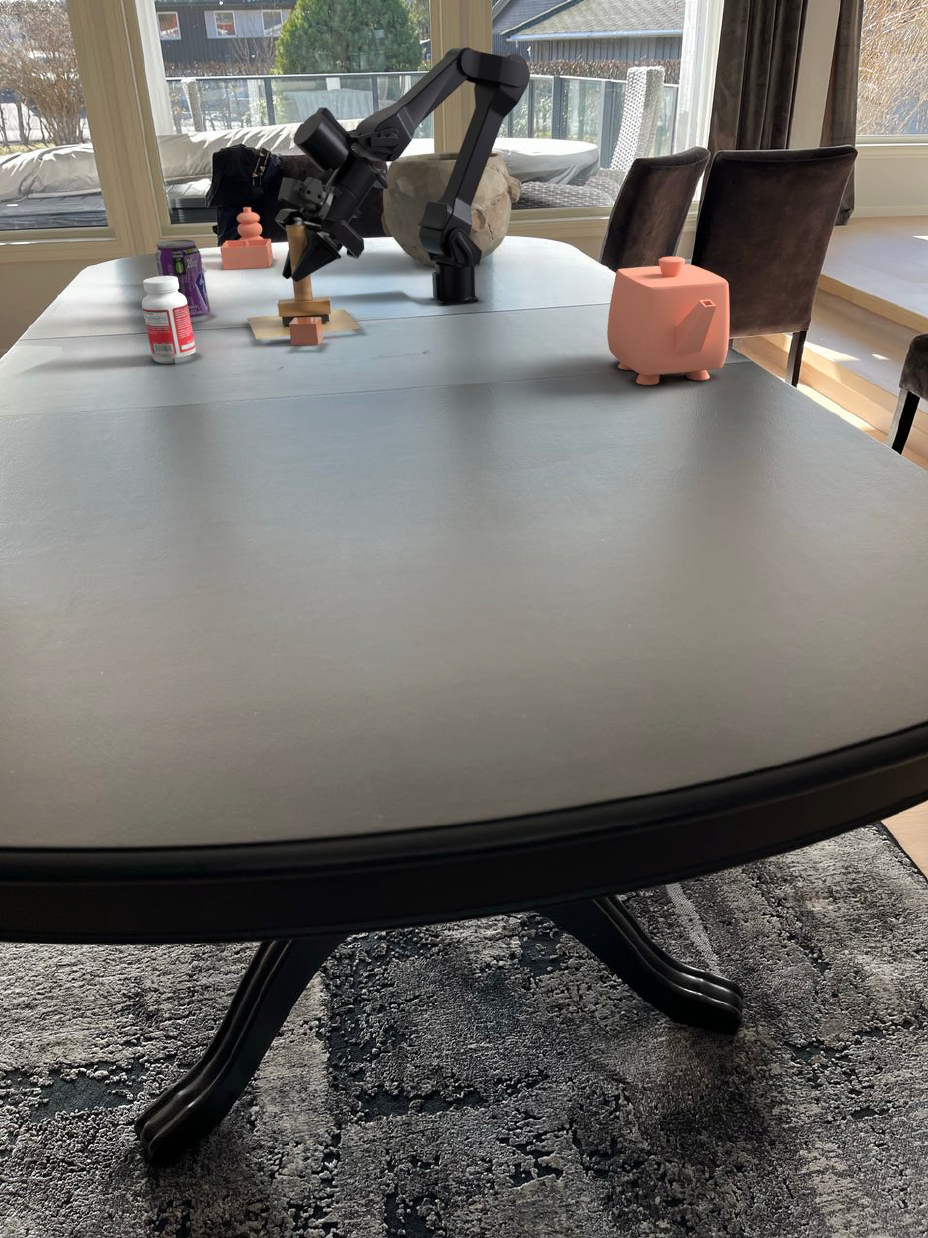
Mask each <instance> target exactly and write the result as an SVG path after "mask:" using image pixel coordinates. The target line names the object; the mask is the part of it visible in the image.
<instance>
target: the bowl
mask: <svg viewBox="0 0 928 1238" xmlns="http://www.w3.org/2000/svg"><path fill="white" fill-rule="evenodd" d="M459 152H460V151H452V152H451V151H450V152H449V151H447V152H431V153H420V154H412V155H411V154H410V155H406V156H400V157H399V158H398V159H396V160H395V161H392V162H390V164H389V167H388V168H387V170H386V178H387V181H388V188H387V189H383V190H382V203H383V204H382V205H383V212H382V214H381V218H380V219H381V224H382V229H383V232H384V234H385V235H386V236H387V237H392V238H393V239H394V241H395V242H396V243H397V244H398V245H399V247H400V248H401V249H402V251H403V252H404V253H405V254H407V255H408V256H409V257H410V258H411V259H412V260H413V261H416V262H419V263H420V264H423V265H424V266H428V267H433V268H435V261H430V259H429V256H428V254H427V251H426V250H425V249H424V247H423V246H422V244H421V240H420V238H419V232H420V228H421V226H420V225H418V223H419V222H420V221H421V219H422V217H423V215H424V211H425V206H426V204H427V202H428V201H432V202H438V200H439V199H440V198H441V197H442V196H443V194H444V192H445V190H446V187H447V184H448V182H449V179H450V176H451V173H452V171H453V168H454V165H455V162H456V160H457V157H458V154H459ZM521 192H522V182H521V181H520V179H517V178H516V177H513V176H512V175H509V171H508V168H507V165H506V163H505V160H504V158H503V156H502V155H501V154H500V153H497V152H491V154H490V156H489V159H488V162H487V165H486V167H485V170H484V173H483V175H482V178H481V181H480V183H479V186H478V189H477V191H476V194H475V197H474V199H473V202H472V205H471V214H472V229H471V234H470V238H471V239H472V241H473V242H474V243H475V244H476V245H477V246H478V247H479V248H480V249H481V250H482V256H481V260H483V259H484V258H487V257H488V256H490V255H491V254H493V253H494V252H495V251H496V249H497V248H499V246H500V245H501V244H502V243H503V241H504V240H505V237H506V235H507V231H508V228H509V223H510V221H511V220H510V219H511V215H512V204H516V203H517V202H518V201H519V199H520V196H521Z"/></svg>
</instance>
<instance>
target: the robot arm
mask: <svg viewBox="0 0 928 1238" xmlns="http://www.w3.org/2000/svg"><path fill="white" fill-rule="evenodd" d="M530 79H531V72H530V70H529V64H528V62H527V61H526V59H525V58H524V57H523V56H522V55H521V54H519V53H501V54H493V53H488V52H483V51H479V50H476V49H473V48H471V47H467V46H466V47H452V48H450V49H449V50H448V51H446V53H445V55H444V56H443V58H441V59H440V60H439V61H438V62H437V63H436V64H435V65H433V67H432V68H431V69H429V71H428V72H426V73H425V74H424V76H422V78H420V79H419V80H418V81H417V82H416V83H415V84H414V85H413V86H411V88H409V90H407V91H406V92H405V93H404V94H403V95H402V96H401V97H400V98H399V99H398V100H397V101H396V102H394V103H392V104H390V105H388V106H386V107H384V108H382V109H379V110H377V111H375V112H374V113H372V114H370V115H368V116H367V117H365V118H364V119H363V120H361V121H360V122H359V123H358V124H357V126H356V128H354V129H351V130H347V129H345V128H344V126H343V125H342V124H341V123H340V122H339V121H338V120H337V119H336V117H335V116H334V114H333V113H332V111H330V109H329V108H328V107H318V108H317V110H316V112H315V113H313V114H312V115H310V116H309V117H308V118H307V119H305V120H304V122H303V123H300V124H299V126H298V127H297V129H296V131H295V133H294V135H293V144H294V145H295V146H296V147H297V148H298V149H299V150H300V151H301V152H302V153H303V154H304V155H305V156H306V157H307V158H308V159H309V160H310V161H311V162H312V163H313V164H314V165H315V166H316V167H317V168H318V169H319V170H320V171H321V172H327V171H331V172H333V174H332V175H331V177H330V178H329V180H328V181H327V183H326V184H323V182H322V180H319V179H317V178H315V177H310V176H308V177H306V179H305V180H304V181H303V180H298V179H295V178H289V177H282V182H281V185H280V189H279V193H278V198H277V200H278V201H281V202H282V203H285V202H287V203H289V204H291V205H293V206H296V207H299V208H300V209H299V210H298V209H292V208H283V209H280V210H279V211H278V213H277V215H276V217H275V218H274V220H275V222H276V223H277V224H278V225H279V226H280V227H281V228H282V229H284V230H285V232H287V228H286V226H288V225H305V230H306V240H307V245H306V247H305V249H304V251H303V253H302V255H301V257H300V259H299V261H298V263H297V265H296V267H295V269H294V272H293V274H292V271H291V263H290V254H289V249H288V251H287V255H286V258H285V262H284V265H283V269H282V273H281V276H282V277H283V278H284V279H286V280H289V279H290V278H291V280H292V281H293V280H294V281H295V282H298V281H300V280H302V279H303V278H305V277H307V276H308V275H310V276H311V274H314V273H315V272H316V271H318V270H321V269H322V268H324V267H325V266H327V265H329V264H331V263H333V262H335V261H337V260H341V259H342V258H343V257H342V255H341V254H340V252H341V250H342V249H343V247H344V248H345V250H346V255H347V257H349V258H352V259H356V260H358V259H359V258H360V257H361V255H362V253H363V252H364V250H365V240H364V238H363V237H362V236H361V235H360V234H358V232H357V231H356V230H355V229H354V228H353V227H352V226H351V225H350V224H349V223H350V222H351V220H352V218H354V219H359V217H360V216H361V214H362V212H361V211H360V210H359V208H360V206H361V204H362V203H363V202H364V200H365V198H366V197H367V195H368V194H369V193H370V191H371V189H372V188H377V189H383V190H384V189H387V188H388V181H387V178H386V175H387V170H386V169H384V168H377V167H376V165H375V164H373V163H372V161H378V162H387V163H391V162H392V161H395V160H396V159H398V158H399V157H402V154H403V153H404V152H405V150H406V149H407V147H408V146H409V145H410V143H412V141H413V138H414V135H415V132H416V130H417V129H418V127H419V126H420V124H422V122H423V121H424V120H426V118H428V117H429V116H430V115H431V114H432V113H433V112H434V111H435V110H436V109H437V108H439V106H440V105H441V104H442V103H444V101H445V100H447V98H449V96H450V95H452V94H453V93H454V92H455V91H456V90H457V89H458V88H459V87H460V86H461V85H462V84H463V83H464V82H465V81H466V82H468V83H471V84H474V88H473V90H474V102H475V107H474V112H473V113H472V117H471V119H470V122H469V124H468V127H467V130H466V131H465V132H466V133H465V135H464V138H463V141H462V144H461V146H460V149H459V151H458V152H459V154H458V157H457V160H456V162H455V165H454V168H453V171H452V173H451V176H450V179H449V182H448V184H447V187H446V190H445V192H444V194H443V196H442V197H441V198H440V199H439V200H438V202H432V201H428V202H427V204H426V206H425V211H424V215H423V217H422V219H421V221H420V222H419V223H418V225H420V226H421V228H420V232H419V238H420V240H421V244H422V246H423V247H424V249H425V250H426V251H427V254H428V256H429V259H430V261H435V267H434V271H432V273H431V279H432V297H433V298H434V300H436V301H437V302H438V303H440V304H441V305H443V306H445V305H455V304H465V303H474V302H479V297H477V296H476V272H475V271H476V270H475V269H476V268H475V266H478V265H480V263H481V260H482V259H481V256H482V250H481V249H480V248H479V247H478V246H477V245H476V244H475V243H474V242H473V241H472V239H471V238H470V234H471V229H472V214H471V205H472V202H473V199H474V197H475V194H476V191H477V189H478V186H479V183H480V181H481V178H482V175H483V173H484V170H485V167H486V165H487V162H488V159H489V156H490V154H491V153H492V151H493V148H494V146H495V143H496V140H497V138H498V135H499V132H500V130H501V127H502V125H503V121H504V120H505V118H506V117H507V116H508V115H509V114H510V113H511V112H512V111H513V109H514V108H515V107H516V106H517V105H518V104H519V103H520V101H521V99H522V97H523V95H524V93H525V91H526V89H527V88H528V86H529V83H530ZM356 151H357V152H358V153H359V155H358V154H357V153H356Z"/></svg>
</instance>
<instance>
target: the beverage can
mask: <svg viewBox="0 0 928 1238" xmlns="http://www.w3.org/2000/svg"><path fill="white" fill-rule="evenodd" d="M196 243H197V242H196V240H195V239H188V238H187V239H186V238H185V239H182V238H181V239H168V240H162V241H160V242H159V241H158V242H157V243H155V245H156V248H157V249H156V252H155V261H156V267H157V272H158V273H157V274H158V277H159V276H175V277H177V278H178V283H179V289H178V292H179V293H181V294H183V295H184V296H185V298H186V300H187V304H188V309H189V315H190V319H191V318H196V317H202V316H205V315H208V314H209V313H210V312H211V309H210V302H209V297H208V291H207V285H206V279H205V273H204V272H203V271H204V267H203V261H202V254H201V251H200V250H199V248H198V246H197V245H196Z"/></svg>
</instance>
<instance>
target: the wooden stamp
mask: <svg viewBox="0 0 928 1238" xmlns="http://www.w3.org/2000/svg"><path fill="white" fill-rule="evenodd" d="M286 228H287V231H286V235H287V244H288V250H289V254H290V263H291V271H292V274H293V272H294V269H295V267H296V265H297V263H298V261H299V259H300V257H301V255H302V253H303V251H304V249H305V247H306V245H307V240H306V230H305V225H288V226H286ZM292 288H293V297H294V298H284V299H283V298H282V299H281V298H280V299H278V301H277V311H278V315H279V317H282V321H283V325H287V324H290V322H291V321H292V320H293V319H294V318H302V317H321V321H322V322H329V314H331V310H332V307H331V306H332V305H331V299H330V296H316V297H315V296H313V287H312V278H311V274H310V275H308V276H307V277H305V278H303V279H302V280H300V281H298V282H295V281H294V280H292Z"/></svg>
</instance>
